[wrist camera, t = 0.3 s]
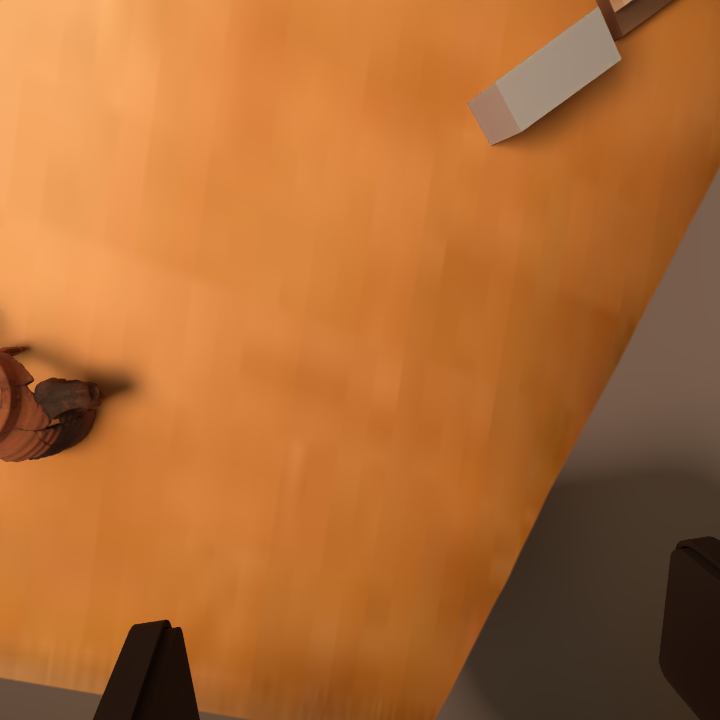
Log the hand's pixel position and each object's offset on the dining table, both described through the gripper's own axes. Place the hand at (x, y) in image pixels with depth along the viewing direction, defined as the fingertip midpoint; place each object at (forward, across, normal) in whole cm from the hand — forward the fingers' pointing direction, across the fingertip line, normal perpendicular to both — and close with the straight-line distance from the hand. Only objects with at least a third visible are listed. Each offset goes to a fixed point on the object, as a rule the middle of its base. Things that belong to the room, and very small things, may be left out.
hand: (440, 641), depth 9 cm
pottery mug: (+36, +24, +5) cm, 44 cm away
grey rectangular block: (+36, -18, -18) cm, 44 cm away
